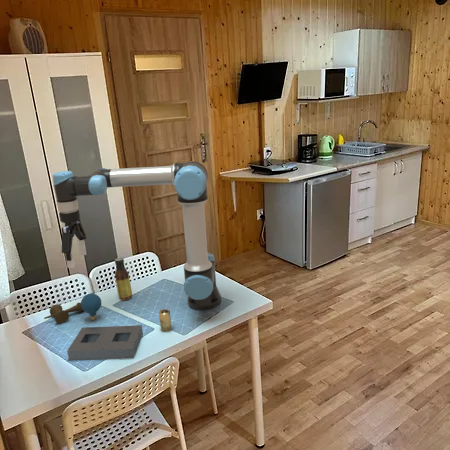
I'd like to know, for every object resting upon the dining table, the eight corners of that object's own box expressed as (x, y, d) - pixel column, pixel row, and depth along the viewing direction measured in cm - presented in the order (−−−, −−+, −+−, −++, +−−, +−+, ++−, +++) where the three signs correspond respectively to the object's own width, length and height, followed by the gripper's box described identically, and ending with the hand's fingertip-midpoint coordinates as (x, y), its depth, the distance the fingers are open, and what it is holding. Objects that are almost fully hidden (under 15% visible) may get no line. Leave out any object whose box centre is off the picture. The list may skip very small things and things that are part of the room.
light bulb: (93, 326, 179) (88, 300, 175) (79, 321, 183) (75, 296, 180) (108, 317, 186) (104, 292, 182) (94, 313, 190) (90, 288, 186)
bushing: (172, 326, 176) (170, 308, 173) (170, 332, 172) (168, 314, 169) (161, 326, 176) (159, 308, 173) (160, 332, 172) (157, 314, 169)
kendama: (94, 313, 191) (48, 329, 179) (86, 306, 198) (41, 320, 187) (92, 301, 189) (45, 316, 178) (85, 294, 197) (39, 308, 185)
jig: (142, 334, 171) (141, 325, 170) (133, 358, 156) (132, 348, 155) (83, 336, 172) (82, 327, 171) (68, 360, 157) (67, 350, 156)
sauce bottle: (135, 296, 203) (129, 257, 197) (125, 302, 198) (120, 262, 192) (125, 294, 207) (119, 255, 201) (115, 299, 202) (109, 260, 196)
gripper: (71, 203, 181) (79, 250, 187) (46, 220, 157) (56, 273, 163) (88, 202, 180) (96, 249, 187) (66, 219, 156) (75, 273, 163)
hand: (77, 260), depth 175 cm, fingers open, 13 cm apart
